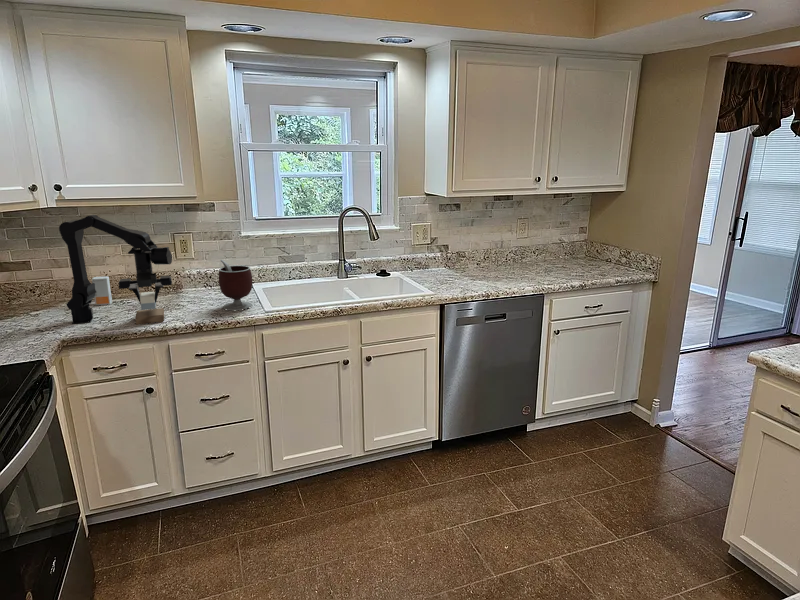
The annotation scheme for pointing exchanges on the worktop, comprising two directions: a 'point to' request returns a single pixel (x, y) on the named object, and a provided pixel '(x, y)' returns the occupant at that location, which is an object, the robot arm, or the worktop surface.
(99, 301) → the skincare box
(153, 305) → the base plate
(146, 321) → the walnut stand
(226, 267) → the mate gourd
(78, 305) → the robot arm
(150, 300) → the lid plate
